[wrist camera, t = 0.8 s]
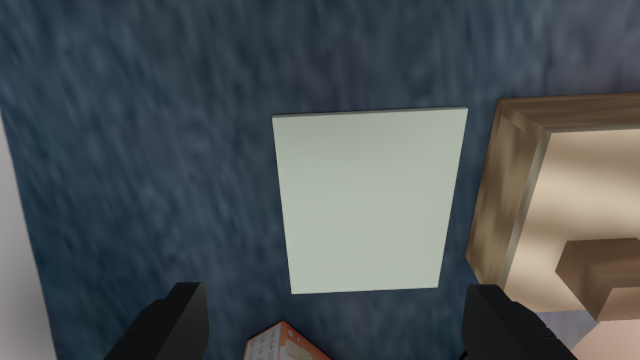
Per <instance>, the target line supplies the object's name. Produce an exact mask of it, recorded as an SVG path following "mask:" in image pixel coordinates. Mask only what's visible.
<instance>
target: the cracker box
mask: <svg viewBox="0 0 640 360" xmlns="http://www.w3.org/2000/svg"><path fill="white" fill-rule="evenodd" d="M244 360H331V359H330V358H329V357H328V356H327V355H325V354H324V353H323V352H322V351H320V350H319V349H318V348H317V347H315V346H314V345H313V344H312V343H310V342H309V341H308V340H307V339H306V338H304V337H303V336H302V335H301V334H299V333H298V332H297V331H296V330H294V329H293V328H292V327H291V326H290V325H288V324H287V323H286V322H285V321H281V322H279V323H277V324H276V325H274V326H272V327H270V328H269V329H267V330H265V331H263V332H262V333H260V334H258V335H256V336H255V337H253V338H251V339H249V340H248V341H247V343H246V349H245V354H244Z"/></svg>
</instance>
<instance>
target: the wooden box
mask: <svg viewBox="0 0 640 360" xmlns="http://www.w3.org/2000/svg"><path fill="white" fill-rule="evenodd" d="M619 123H640V92H631V93H609V94H588V95H566V96H544V97H523V98H501V99H498V103H497V107H496V112H495V117H494V122H493V126H492V131H491V136H490V140H489V145H488V150H487V155H486V159H485V164H484V169H483V173H482V178H481V183H480V188H479V192H478V197H477V202H476V206H475V211H474V216H473V220H472V225H471V230H470V235H469V239H468V244H467V249H466V253H465V257H466V259H467V261H468V263H469V265H470V266H471V268H472V270H473V272H474V274H475V275H476V277H477V279H478V281H479V283H480V284H497V283H498V280H499V276H500V273H501V269H502V266H503V262H504V259H505V255H506V252H507V248H508V245H509V241H510V238H511V234H512V231H513V227H514V224H515V220H516V217H517V213H518V210H519V206H520V203H521V199H522V196H523V193H524V189H525V186H526V182H527V179H528V175H529V172H530V168H531V165H532V161H533V158H534V154H535V151H536V147H537V144H538V140H539V137H540V133H541V130H542V127H554V126H576V125H598V124H619Z"/></svg>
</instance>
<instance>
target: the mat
mask: <svg viewBox="0 0 640 360" xmlns="http://www.w3.org/2000/svg"><path fill="white" fill-rule="evenodd" d="M467 112H468V108H466V107H465V106H463V107H441V108H419V109H398V110H376V111H354V112H333V113H311V114H290V115H273V117H272V121H273V129H274V138H275V147H276V156H277V165H278V174H279V183H280V192H281V201H282V210H283V219H284V228H285V237H286V246H287V255H288V264H289V273H290V282H291V291H292V294H301V293H323V292H344V291H366V290H387V289H409V288H430V287H437V286H438V281H439V275H440V269H441V263H442V257H443V251H444V246H445V240H446V234H447V228H448V222H449V217H450V211H451V205H452V199H453V193H454V187H455V182H456V176H457V170H458V164H459V158H460V152H461V147H462V141H463V135H464V129H465V123H466V118H467Z"/></svg>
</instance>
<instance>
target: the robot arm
mask: <svg viewBox="0 0 640 360" xmlns="http://www.w3.org/2000/svg"><path fill="white" fill-rule="evenodd" d="M208 337H209V319H208V308H207V298H206V288H205V285H204V283H203V282H178V283H176V284H175V286H174V287H173V288H172V290H171V291H170V293H169V294H168V295H167V297H166V298H165V299H157V300H156V301H154V302H153V303H151V304H150V305H149V306H147V307H146V308H144V309H143V310H142V311H141V312H140V313H139V315H138V316H137V317H136V318H135V320H134V321H133V322H132V326H129V327H128V329H127V330H126V331H125V333H124V335H123V337H121V338H120V339H119V340H118V342H117V343H116V344H115V345H114V347H113V348H112V349H111V351H110V352H109V353H108V354H107V356H106V357H105V358H104V360H201V359H202V356H203V354H204V352H205V349H206V346H207V343H208ZM462 338H463V343H464V346H465V349H466V351H467V353H468V355H469V357H470V358H471V360H578V359H577V358H576V357H575V356H574V355H573V354H572V353H571V352H570V350H569V349H568V348H567V347H566V346H565V345H564V344H563V343H562V342H561V341H560V340H559V339H557V338H556V335H555V334H554V333H553V332H552V331H551V330H550V329H549V328H547V327H546V325H545V323H544V322H543V321H542V320H541V319H540V318H539V317H538V316H537V315H536V314H535V313H534V312H533V311H531V310H530V309H528V308H527V307H525V306H524V305H522V304H520V303H519V302H517V301H512V300H511V299H510V298H509V297H508V296H507V295H506V294H505V292H504V291H503V290H502V289H501V288H500V287H499V286H498V285H497V284H470V285H469V286H468V288H467V293H466V301H465V308H464V316H463V324H462Z"/></svg>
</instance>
